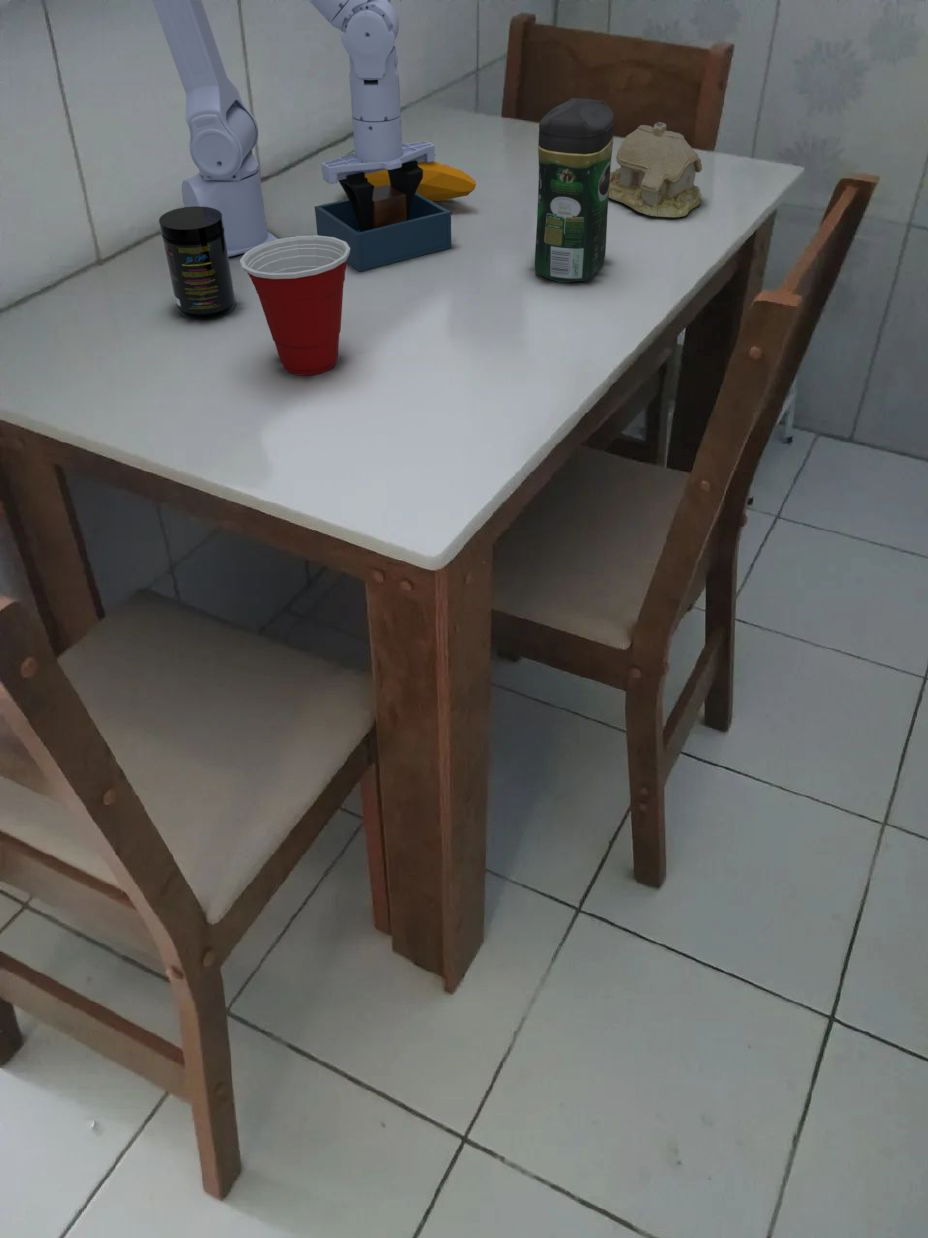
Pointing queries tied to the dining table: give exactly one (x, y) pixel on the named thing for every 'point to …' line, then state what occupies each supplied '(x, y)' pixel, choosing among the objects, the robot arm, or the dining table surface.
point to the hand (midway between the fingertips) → (383, 229)
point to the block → (388, 206)
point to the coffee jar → (573, 189)
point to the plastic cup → (301, 297)
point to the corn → (433, 181)
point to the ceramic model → (656, 173)
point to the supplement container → (198, 261)
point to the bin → (387, 233)
